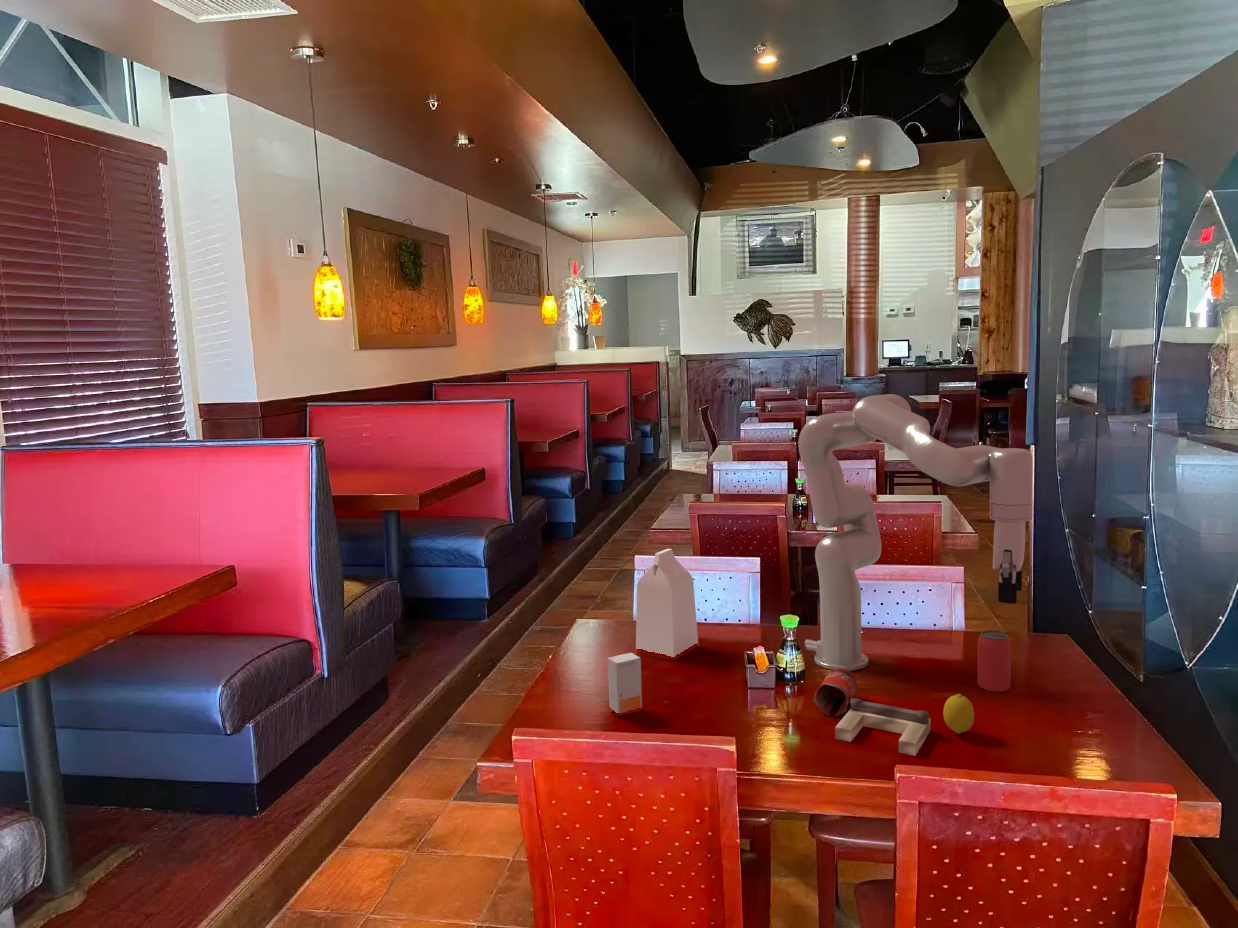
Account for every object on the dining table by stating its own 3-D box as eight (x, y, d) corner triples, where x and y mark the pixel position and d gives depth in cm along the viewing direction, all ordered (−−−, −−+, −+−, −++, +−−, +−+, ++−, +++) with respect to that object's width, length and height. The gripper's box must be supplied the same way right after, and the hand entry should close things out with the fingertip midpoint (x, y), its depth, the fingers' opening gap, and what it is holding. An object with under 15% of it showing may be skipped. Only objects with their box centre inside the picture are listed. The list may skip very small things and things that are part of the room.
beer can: (1013, 693, 178) (1014, 639, 177) (980, 692, 180) (981, 638, 178) (1006, 681, 185) (1006, 629, 183) (974, 680, 186) (974, 629, 185)
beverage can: (859, 696, 181) (859, 667, 180) (848, 718, 170) (847, 687, 169) (826, 692, 184) (826, 663, 183) (813, 713, 173) (812, 682, 172)
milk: (661, 639, 223) (657, 544, 220) (698, 646, 216) (695, 548, 213) (635, 653, 213) (631, 553, 210) (673, 661, 206) (670, 558, 203)
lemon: (938, 728, 164) (938, 689, 163) (965, 726, 164) (965, 687, 163) (951, 741, 158) (951, 701, 157) (979, 739, 158) (980, 698, 157)
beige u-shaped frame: (834, 738, 161) (834, 718, 161) (854, 715, 171) (853, 695, 171) (915, 756, 153) (915, 734, 152) (931, 730, 163) (931, 710, 162)
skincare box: (618, 718, 175) (615, 663, 173) (609, 711, 178) (606, 657, 177) (643, 711, 177) (641, 657, 176) (633, 704, 181) (631, 651, 180)
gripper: (995, 503, 173) (995, 583, 175) (983, 518, 158) (983, 605, 160) (1035, 505, 169) (1035, 587, 171) (1027, 520, 154) (1027, 610, 156)
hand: (1010, 596), depth 165 cm, fingers open, 9 cm apart
